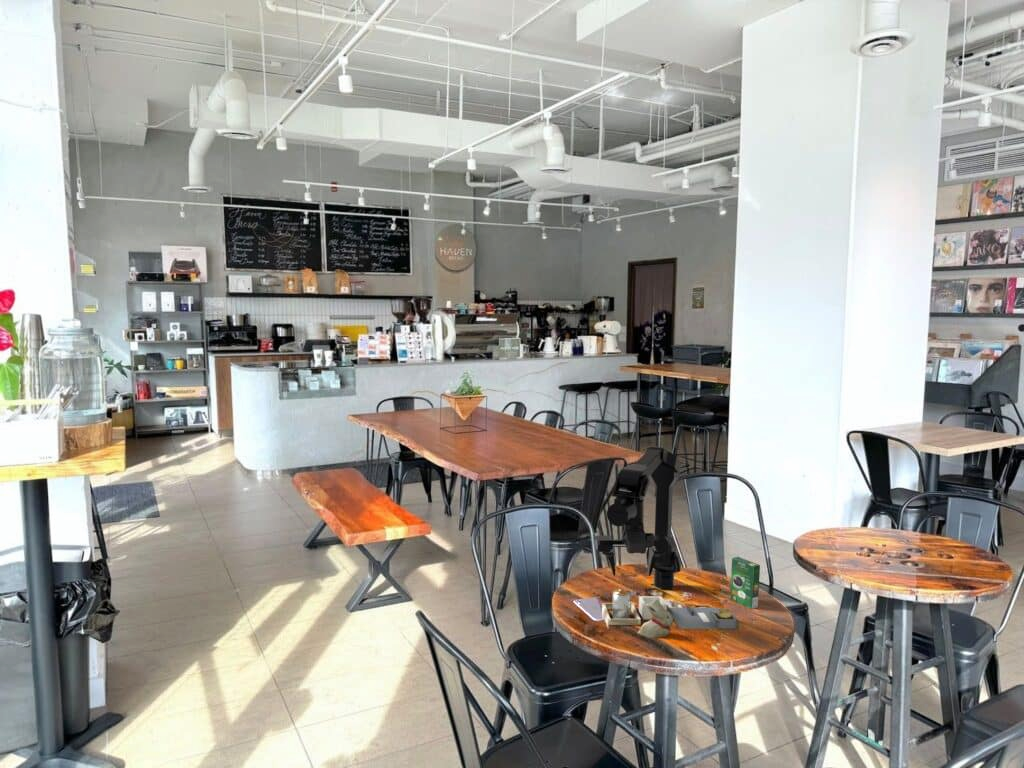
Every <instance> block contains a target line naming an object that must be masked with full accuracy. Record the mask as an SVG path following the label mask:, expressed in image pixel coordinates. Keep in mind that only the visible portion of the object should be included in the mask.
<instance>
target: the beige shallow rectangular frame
mask: <svg viewBox="0 0 1024 768" xmlns="http://www.w3.org/2000/svg"><path fill="white" fill-rule="evenodd" d="M601 606H602V612H603V615H604V618H605V620H604V622H605V624H606V627H607V630H609V631H610V630H611V627H610V626H642V625H641V623H642V622H641V621H642V620H641V619H642V618H641V617H640V615H639V613H638V611H637V609H636V607H635V605H634V603H633V602H630V611H631V613H632V615H633V618H629V619H615V618H611V617H610V614H609V611H608V610H613V602H602V603H601Z"/></svg>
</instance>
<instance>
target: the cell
mask: <svg viewBox="0 0 1024 768" xmlns="http://www.w3.org/2000/svg"><path fill="white" fill-rule="evenodd" d="M630 595H631V594H630V591H629V590H628V589H626V588H615V589H613V591H612V603H613V609H612V617H613V618H612V619H630V618H631V617H630V616H631V615H630V613H631V612H630V611H631V609H630V603H631V597H630Z"/></svg>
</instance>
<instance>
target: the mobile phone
mask: <svg viewBox="0 0 1024 768" xmlns="http://www.w3.org/2000/svg"><path fill="white" fill-rule="evenodd" d="M573 603H574V604H575V605H576V606H577V607H578V608H579V609H581V610H582V612H584V613H585V614H586V615H587V616H588V617H589V618H591V620H593V621H595V622H603V621H605V618H604V615H603V612H602V603H601V600H600V599H599V598H598V597H585V598H578V599H577V598H576V599H573Z"/></svg>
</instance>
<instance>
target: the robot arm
mask: <svg viewBox="0 0 1024 768" xmlns="http://www.w3.org/2000/svg"><path fill="white" fill-rule="evenodd" d="M681 469H682V462H681V460H680V458H679V456H678V455H676V454H674V453H672V452H670V451H669V450H668V449H667V448H666V447H664V446H656V445H655V446H654V445H651V446H648V447H647V449H646V451H645V453H643V455H642V456H641V457H640V458H639V459H638V460H637V461H636V462H635V463H634V464H631V465H627V466H624V467H623V468H621V469H620V470H619V471H618V473H617V475H616V479H615V482H614V487H613V491H612V494H611V497H615V498H614V500H613V503H612V504H610V505H609V506H608V508H607V511H606V519H607V520H608V522H609V523H610V524H611V525H613V526H615V527H620V539H617V538H616V539H613V538H612V537H611V535H610V534H609V535H605V534H603V535H596V537H595V538H594V541H595V542H594V547H595V549H596V551H597V552H599V553H601V554H602V555H603V556H606V558H607V559H608V563H609V565H610V569H611V572H612V575H613V577H616V565H615V564H616V563H615V553H614V550H613V549H614V548H626V552H627V553H628V554H630V555H631V554H646V555H645V558H646V564H647V565H646V566H647V575H648V576H649V577H650V576H651V575H652V573H653V583H650V586H653V587H655V588H656V589H659V590H661V591H672V589H673V588H674V586H675V574H676V573H680V572H681V571H682V570H681V567H682V560H681V559H680V555H679V553H678V551H677V544H676V542H675V540H674V538H673V536H672V516H673V493H674V492H673V491H674V490H673V489H674V488H673V487H674V485H675V483H676V482H677V481H678V479H679V478H680V477H679V476H680V473H681ZM650 478H651V479H652V480H653V482H654V485H655V487H656V488H655V513H654V515H655V517H654V518H655V520H654V532H645V527H644V524H645V523H644V517H645V515H644V509H645V508H644V507H645V506H644V504H645V502H644V501H645V499H644V498H645V497H646V495H647V492H648V489H649V486H650V483H651V481H650Z"/></svg>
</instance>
